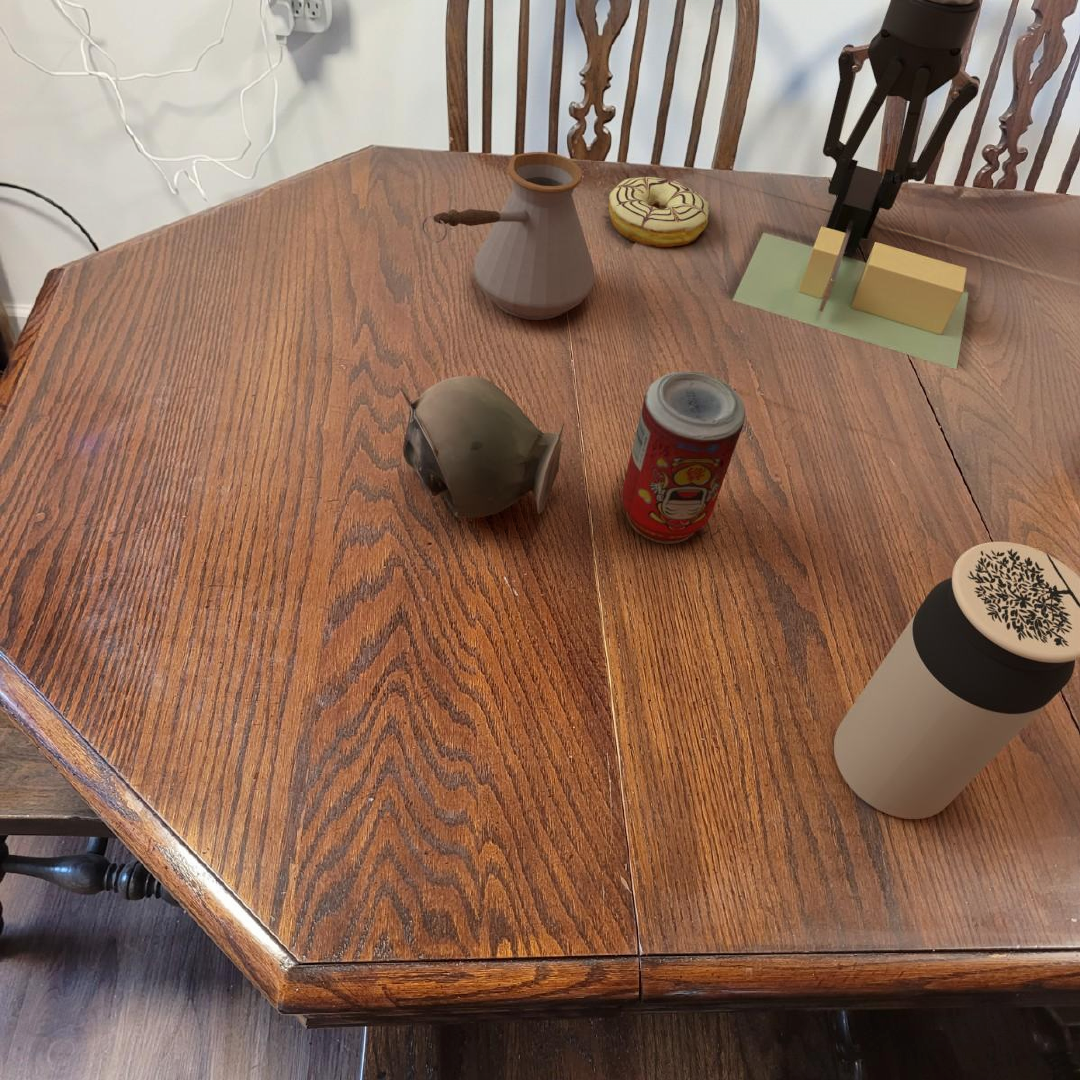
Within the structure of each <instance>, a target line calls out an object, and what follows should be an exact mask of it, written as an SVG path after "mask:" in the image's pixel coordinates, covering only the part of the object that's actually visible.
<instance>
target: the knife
mask: <svg viewBox="0 0 1080 1080" xmlns="http://www.w3.org/2000/svg"><path fill="white" fill-rule="evenodd" d="M884 174H885V172H882V171H878V170H874V169H871V168H868V167H864V166H860V165H857V166H856V169H855V171H854V174H853V177H852V179H851V182H850V185H849V187H848V190H847V192H846V195H845V198H844V200H843V203H842V206H841V208H840V211H839V214H838V217H837V219H836V222H835V225H834V227H833V230H836V231H840V232H843V233H846V235H845V238H844V241H843V244H842V247H841V250H840V253H839V256H838V259H837V261H836V264H835V267H834V269H833V272H832V274H831V277H830V280H829V282H828V285H827V287H826V290H825V293H824V296H823V299H822V302H821V305H820V308H819V311H821V312H823V310H824V307H825V305H826V302H827V299H828V297H829V294H830V292H831V289H832V287H833V284H834V282H835V279H836V275H837V272H838V269H839V266H840V263H841V260H842V257H843V256H844V254H845V253H846V254H849V255H853V256H855V255H856V253H857V251H858V248H859V246H860V243H861V240H862V239H863V238H862V236H863V233H864V231H865V228H866V226H867V223H868V221H869V218H870V216H871V213H872V210H873V207H874V204H875V200H876V196H877V193H878V190H879V186H880V184H881V181H882V179H883V176H884Z"/></svg>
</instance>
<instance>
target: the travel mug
mask: <svg viewBox="0 0 1080 1080" xmlns="http://www.w3.org/2000/svg"><path fill="white" fill-rule="evenodd" d="M951 573H952V574H951V577H949V578H946V579H944V580H942V581H940V582H939V583H937V584H936V585H935V586H933V588H932V589H931V590H930V591H929V593H928V594H927V595H926V597H925V598H924V600H923V601H922V603H921V605H920V606H919V607H918V609H917V610H916V612H915V613H914V615H913V616H912V617H911V619H910V621H909V622H908V624H907V625H906V626H905V628H904V629H903V631H902V633H901V634H900V635H899V637H898V638H897V640H896V641H895V642H894V644H893V645H892V647H891V648H890V650H889V651H888V653H887V655H886V656H885V657H884V659H883V660H882V662H881V663H880V665H879V666H878V668H877V669H876V671H875V672H874V673H873V674H872V676H871V678H870V680H869V681H868V682H867V684H866V686H864V688H863V690H862V691H861V693H860V694H859V696H858V697H857V699H856V700H855V702H854V703H853V704H852V706H851V707H850V709H849V710H848V712H847V713H846V714H845V716H844V718H843V719H842V721H841V722H840V724H839V725H838V727H837V729H836V732H835V735H834V739H833V753H834V758H835V762H836V765H837V768H838V769H839V772H840V774H841V776H842V777H843V779H844V781H845V783H846V784H847V785H848V786H849V788H850V789H851V790H852V791H853V792H854V793H855V794H856V796H858V797H859V798H860V799H861V800H863V801H864V802H865V803H867V804H868V805H870V806H871V807H873V808H874V809H876V810H878V811H879V812H882V813H885V814H887V815H890V816H892V817H896V818H900V819H906V820H919V819H925V818H930V817H933V816H935V815H937V814H939V813H940V812H942V811H943V810H944V809H946V808H947V807H948V806H949V805H950V804H951V802H953V801H954V800H955V799H956V798H957V797H958V796H959V795H960V794H961V792H963V790H965V788H966V787H967V786H968V785H969V784H970V783H971V782H972V781H973V780H975V778H976V777H977V776H978V775H979V774H980V773H981V772H983V770H985V768H986V767H987V766H988V765H989V764H990V763H991V762H992V761H993V760H994V759H995V758H996V757H997V756H998V755H999V754H1000V753H1001V752H1002V751H1003V749H1005V748H1006V747H1007V745H1009V743H1010V742H1011V741H1013V740H1014V739H1015V737H1016V736H1018V735H1019V734H1020V732H1022V730H1023V729H1024V728H1025V727H1026V726H1027V725H1028V724H1030V722H1031V721H1033V719H1034V718H1035V717H1036V716H1037V715H1038V714H1039V713H1041V711H1042V710H1043V709H1044V708H1045V707H1047V705H1048V704H1049V703H1050V702H1051V701H1052V700H1053V699H1054V698H1055V697H1056V696H1057V695H1058V694H1059V693H1060V692H1061V691H1062V689H1064V688H1065V687H1066V685H1067V684H1068V683H1069V682H1070V680H1071V679H1072V677H1073V674H1074V671H1075V666H1076V660H1079V659H1080V576H1079V575H1078V574H1077V573H1076V572H1075V571H1074V570H1073V569H1071V568H1070V567H1069V566H1068V565H1066V564H1065V563H1063V562H1062V561H1060V560H1059V559H1058V558H1056V557H1054V556H1052V555H1050V554H1048V553H1047V552H1044V551H1041V550H1039V549H1037V548H1034V547H1031V546H1030V545H1029V546H1028V545H1025V544H1021V543H1016V542H1011V541H990V542H989V541H988V542H984V543H980V544H977V545H974V546H972V547H970V548H968V549H967V550H965V551H964V552H963V553H962V554H961V555H960V556H959V558H958V559H957V560H956V562H955V564H954V566H953V569H952V572H951Z"/></svg>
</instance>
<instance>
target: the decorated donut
mask: <svg viewBox="0 0 1080 1080" xmlns="http://www.w3.org/2000/svg"><path fill="white" fill-rule="evenodd" d="M608 196H609V197H608V198H609V199H608V211H609V212H608V213H609V217H610V220H611V223H612V225H613V227H614V228H615V230H616V231H617V232H618V233H619V234H620V235H621V236H623V237H624V238H625V239H627V240H629V241H631V242H633V243H636V242H638V243H640V244H642V245H644V246H645V245H646V246H650V247H655V248H672V247H678V246H684V245H688V244H689V243H692V242H694V241H695V240H697V239H698V237H699V236H700V234H701V233H702V232H703V231H704V230H705V229H706V227H707V225H708V223H709V218H708V217H709V213H710V211H709V206H710V204H709V203H708V202H707V200H706V199H704V197H702V195H701V194H699V193H698V192H697V191H696V190H694V189H691V188H690V187H687V186H686V185H684V184H683V183H680V182H678V181H675V180H672V179H669V178H662V177H661V178H659V177H654V176H640V177H639V176H638V177H630V178H626V179H624V180H623V181H621V182H619V184H617V185H616V186H615V187H614V189H613V190H612V191H611V192H610V193H609V195H608Z"/></svg>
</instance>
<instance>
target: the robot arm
mask: <svg viewBox="0 0 1080 1080" xmlns="http://www.w3.org/2000/svg"><path fill="white" fill-rule="evenodd" d="M980 8H981V3H980V0H890V2H889V4H888V6H887V10H886V13H885V15H884V18H883V22H882V24H881V26H880V29H879V31H878V32H877V34H875V36H874V37H873V38H872V39H871V41H870V42H869V43H868V44H863V45H858V46H854V44H851V43H848V44H846V45H844V46H843V48H842V50H841V52H840V54H839V56H838V60H837V64H838V74H839V82H838V87H837V89H836V94H835V98H834V103H833V106H832V111H831V114H830V115H831V116H830V119H829V123H828V127H827V131H826V135H825V139H824V143H823V147H822V154H823V155H824V156H825V157H826V158H827V157H828V158H829V157H830V158H832V160H833V161H834V162H835V168H834V171H833V174H832V177H831V179H830V183H829V185H828V188H827V189H828V194H830V195H833V196H836V200H835V202H834V204H833V208H832V210H831V212H830V215H829V218H828V221H827V224H826V226H825V227H826V228H829V229H833V227H834V225H835V222H836V219H837V217H838V214H839V211H840V208H841V206H842V203H843V200H844V198H845V195H846V192H847V190H848V187H849V185H850V182H851V179H852V177H853V174H854V171H855V169H856V166H858V163H859V160H856V159H854V157H855V156H856V153H857V151H858V149H859V148H860V146H861V144H862V142H863V140H864V139H865V138H866V137H865V136H866V135H867V134H868V131H869V130H870V128H871V126H872V124H873V122H874V121H875V119H876V117H877V115H878V114H879V111H880V109H881V108H882V106H883V105H884V103H885V101H886V99H887V98H888V97H899V98H901V99H903V100H904V101H907V102H908V107H907V111H906V115H905V121H904V124H903V128H902V132H901V137H900V141H899V144H898V150H897V154H896V158H895V161H894V167H893V169H889V168H886V169H885V171H884V174H883V177H882V180H881V184H880V186H879V190H878V193H877V196H876V200H875V204H874V207H873V210H872V213H871V216H870V218H869V221H868V223H867V226H866V228H865V231H864V233H863V236H862V238H861V239H862V240H868V238H869V236H870V233H871V230H872V228H873V227H874V223H875V221H876V218H877V217H878V214H879V212H880V209H883V210H887V211H890V210H891V209H892V208H893V207H894V204H895V201H896V200H897V196H898V194H899V192H900V189H901V187H902V185H903V183H904V182H906V181H915V182H921V181H923V180H925V178H926V176H927V174H928V172H929V171H930V169H931V167H932V165H933V163H934V161H936V160H935V159H936V158H937V156H938V154H939V152H940V150H941V149H942V147H943V145H944V143H945V141H946V139H947V137H948V136H949V134H950V132H951V130H952V129H953V127H954V124H955V123H956V121H957V120H958V119H957V118H958V117H959V115H960V113H961V112H962V111H963V110H964V109H965V108H966V107H967V106H968V105H969V104H970V103H971V102H972V101H973V100H974V99H975V98H976V97H977V96H978V93H979V89H980V84H981V79H980V78H979V77H978V76H977V75H972V76H971V75H970V74H969V73H967V71H965V69H963V68H962V67H961V66H962V62H963V60H962V51H963V49H964V46H965V44H966V42H967V39H968V36H969V34H970V32H971V29H972V26H973V24H974V23H975V20H976V17H977V15H978V13H979V10H980ZM867 60H869V64H870V66H871V70H872V74H873V77H874V81H875V88H874V89H873V91H872V94H870V97H869V99H868V100H867V103H866V104H865V106H864V108H863V110H862V112H861V114H860V116H859V118H858V119H857V121H856V123H855V125H854V127H853V128H852V131H851V133H850V134H849V136H848V138H847V140H846V142H845V143H843V142H842V141H841V140H840V139H841V136H842V130H843V128H844V124H845V119H846V116H847V112H848V108H849V104H850V101H851V96H852V91H853V88H854V85H855V80H856V76H857V74H858V73H859V72H861V71H862V69H863V67H864V65H865V64H864V63H865V61H867ZM950 81H951V82H952V85H951V86H950V89H949V97H950V98H949V100H948V101H947V103H946V105H945V107H944V109H943V111H942V112H941V115H940V117H939V118H938V121H937V122H936V124H935V126H934V128H933V130H932V131H931V133H930V135H929V137H928V139H927V141H926V143H925V145H924V147H923V149H922V151H921V153H920V154H919V156H918V158H917V160H916V161H910V159H911V156H912V155H911V154H912V150H913V147H914V142H915V140H916V139H915V138H916V135H917V131H918V128H919V127H918V126H919V122H920V119H921V118H920V117H921V116H922V115H921V114H922V110H923V107H924V102H925V99H926V98H928V97H929V96H930V95H932V94H933V93H935V92H936V91H938V90H939V89H940V88H942V87H943V86H944V85H945V84H947V83H949V82H950Z"/></svg>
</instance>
